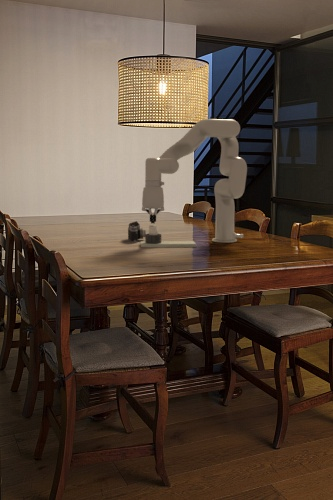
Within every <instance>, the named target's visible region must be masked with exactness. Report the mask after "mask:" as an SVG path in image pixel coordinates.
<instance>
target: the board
mask: <svg viewBox="0 0 333 500" xmlns="http://www.w3.org/2000/svg"><path fill="white" fill-rule="evenodd" d="M140 247H141V248H197V243H196V242H195V241H194V240H171V241H170V240H165V241H163V240H161V243H159V244H148V243H145V240H143V241H142V240H141V241H140Z"/></svg>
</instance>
